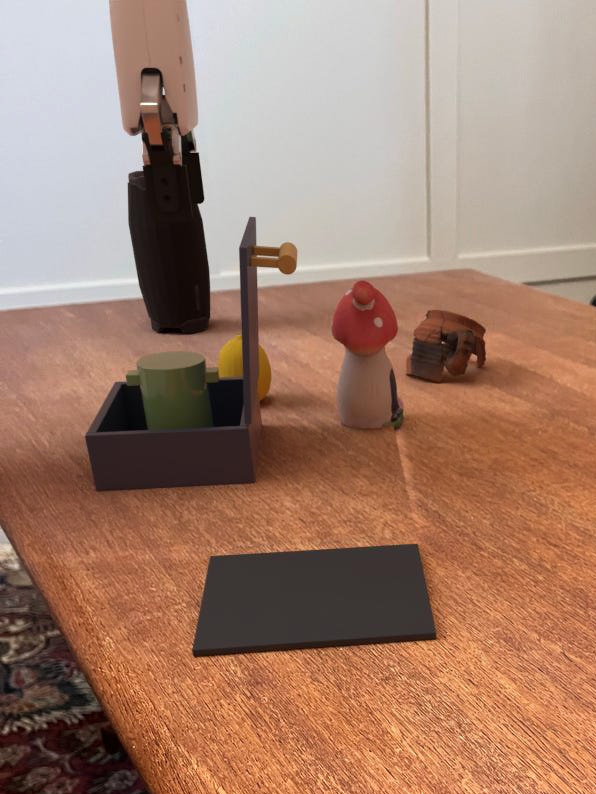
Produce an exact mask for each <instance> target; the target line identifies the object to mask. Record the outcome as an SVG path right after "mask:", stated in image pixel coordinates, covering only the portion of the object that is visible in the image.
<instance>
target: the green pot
mask: <svg viewBox="0 0 596 794" xmlns="http://www.w3.org/2000/svg"><path fill="white" fill-rule="evenodd" d="M135 366H136V369H133V370H130V369H129V370H127V372H126V374H125V380H126V381H127V386H140V389H141V395H142V401H143V406H144V412H145V418H146V424H147V429H148V430H162V429H184V428H206V427H215V426H214V419H213V412H212V405H211V397H210V390H209V383H218V381H219V377H220V376H219V369H218V366H212V367H211V366H210V367H207V362H206V357H205V356H204V355H203V354H201V353H198V352H194V351H188V350H187V351H185V350H171V351H161V352H156V353H155V352H154V353H151V354H147V355H144V356H142V357H140V358H138V359H137V360H136V362H135Z"/></svg>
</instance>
